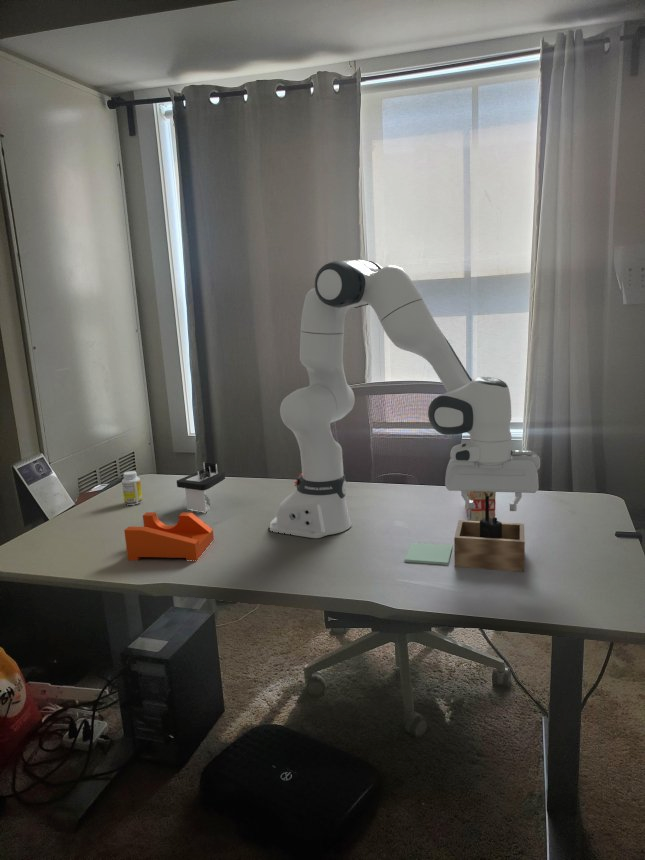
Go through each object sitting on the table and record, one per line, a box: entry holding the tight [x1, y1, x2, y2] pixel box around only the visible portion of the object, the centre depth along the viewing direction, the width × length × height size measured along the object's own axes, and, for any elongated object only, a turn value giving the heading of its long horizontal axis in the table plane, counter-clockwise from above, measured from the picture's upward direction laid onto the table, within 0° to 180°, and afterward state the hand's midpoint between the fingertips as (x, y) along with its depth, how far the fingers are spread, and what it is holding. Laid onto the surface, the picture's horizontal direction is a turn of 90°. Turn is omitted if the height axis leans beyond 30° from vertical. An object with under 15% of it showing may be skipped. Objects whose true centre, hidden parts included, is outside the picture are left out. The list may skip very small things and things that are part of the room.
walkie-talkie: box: [480, 496, 502, 539], centre depth 141 cm, size 5×3×15 cm
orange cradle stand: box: [123, 511, 215, 562], centre depth 157 cm, size 18×13×8 cm
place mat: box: [404, 542, 453, 566], centre depth 147 cm, size 10×10×1 cm
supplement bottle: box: [121, 470, 143, 506], centre depth 196 cm, size 6×6×10 cm
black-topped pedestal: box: [176, 461, 226, 512], centre depth 188 cm, size 28×26×13 cm
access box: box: [453, 519, 526, 573], centre depth 142 cm, size 15×11×7 cm
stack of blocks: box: [464, 491, 497, 521], centre depth 167 cm, size 21×6×12 cm, turn 171°
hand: (491, 509), depth 140 cm, fingers open, 8 cm apart
